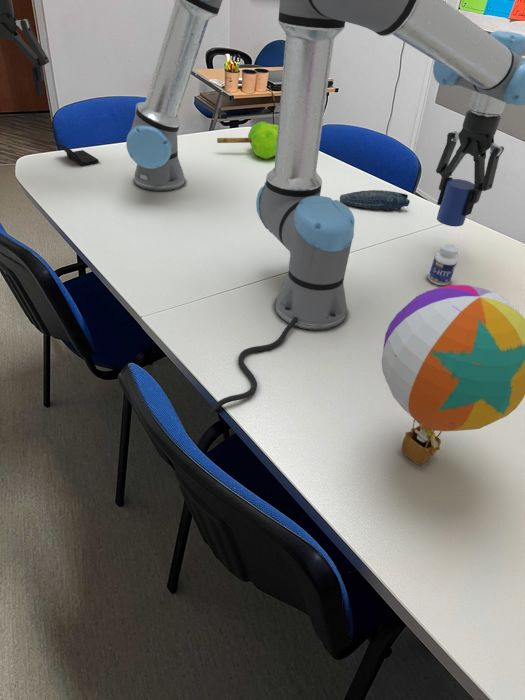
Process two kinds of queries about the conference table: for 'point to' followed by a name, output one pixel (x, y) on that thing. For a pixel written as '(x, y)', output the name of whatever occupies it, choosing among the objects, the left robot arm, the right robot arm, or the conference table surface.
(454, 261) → the pill bottle
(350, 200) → the fish model
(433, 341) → the toy
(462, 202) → the can
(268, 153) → the decorative tree
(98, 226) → the conference table surface
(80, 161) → the black handled block
